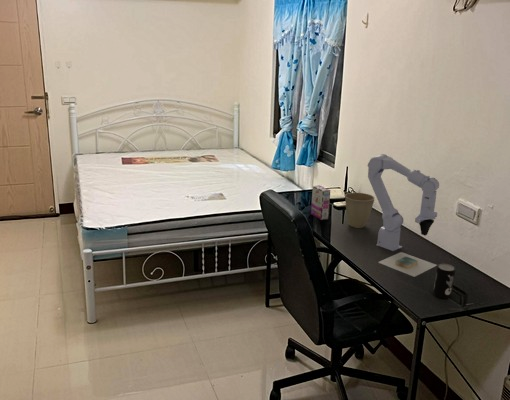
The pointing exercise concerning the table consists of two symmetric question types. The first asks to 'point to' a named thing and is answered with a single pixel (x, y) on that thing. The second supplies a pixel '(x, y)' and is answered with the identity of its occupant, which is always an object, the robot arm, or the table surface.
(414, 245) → the table surface
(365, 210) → the plant pot
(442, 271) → the beverage can
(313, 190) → the candy bar box
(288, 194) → the table surface
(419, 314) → the table surface
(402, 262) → the wood tile
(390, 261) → the rubber mat
